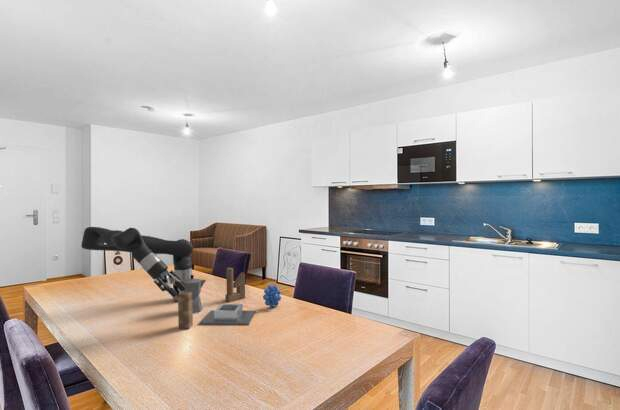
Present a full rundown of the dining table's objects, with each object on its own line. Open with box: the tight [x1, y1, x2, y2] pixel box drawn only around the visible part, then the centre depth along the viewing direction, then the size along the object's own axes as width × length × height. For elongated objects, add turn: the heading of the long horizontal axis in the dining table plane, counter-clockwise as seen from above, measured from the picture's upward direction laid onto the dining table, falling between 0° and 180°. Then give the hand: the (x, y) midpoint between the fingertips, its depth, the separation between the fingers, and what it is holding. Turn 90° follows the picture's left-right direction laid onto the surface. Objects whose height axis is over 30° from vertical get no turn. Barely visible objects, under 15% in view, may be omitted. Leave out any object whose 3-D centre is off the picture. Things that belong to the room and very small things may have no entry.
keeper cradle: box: [199, 303, 256, 326], centre depth 159 cm, size 22×16×5 cm
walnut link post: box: [177, 292, 194, 330], centre depth 148 cm, size 4×4×15 cm
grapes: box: [262, 284, 282, 309], centre depth 173 cm, size 12×7×12 cm, turn 138°
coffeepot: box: [172, 274, 207, 314], centre depth 169 cm, size 15×9×18 cm, turn 110°
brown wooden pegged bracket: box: [224, 267, 246, 303], centre depth 188 cm, size 4×11×18 cm, turn 137°
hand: (179, 292), depth 147 cm, fingers open, 8 cm apart
